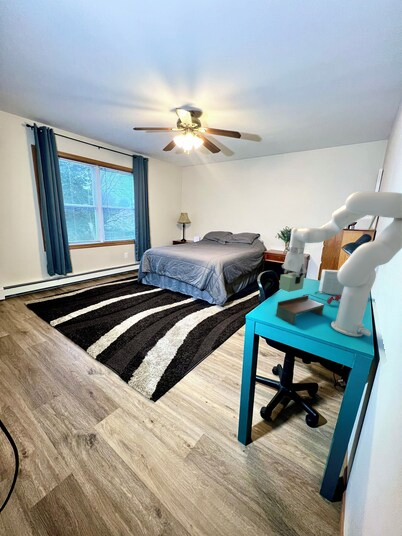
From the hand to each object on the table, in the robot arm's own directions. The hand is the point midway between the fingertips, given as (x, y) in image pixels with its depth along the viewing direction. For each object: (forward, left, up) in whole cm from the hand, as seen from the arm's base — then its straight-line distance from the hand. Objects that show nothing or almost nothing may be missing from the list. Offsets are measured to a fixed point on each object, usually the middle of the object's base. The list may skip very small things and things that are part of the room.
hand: (291, 281), depth 122 cm
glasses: (-4, -27, -14) cm, 31 cm away
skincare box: (-2, -47, -14) cm, 49 cm away
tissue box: (0, 0, -4) cm, 4 cm away
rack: (-13, +7, -14) cm, 20 cm away
